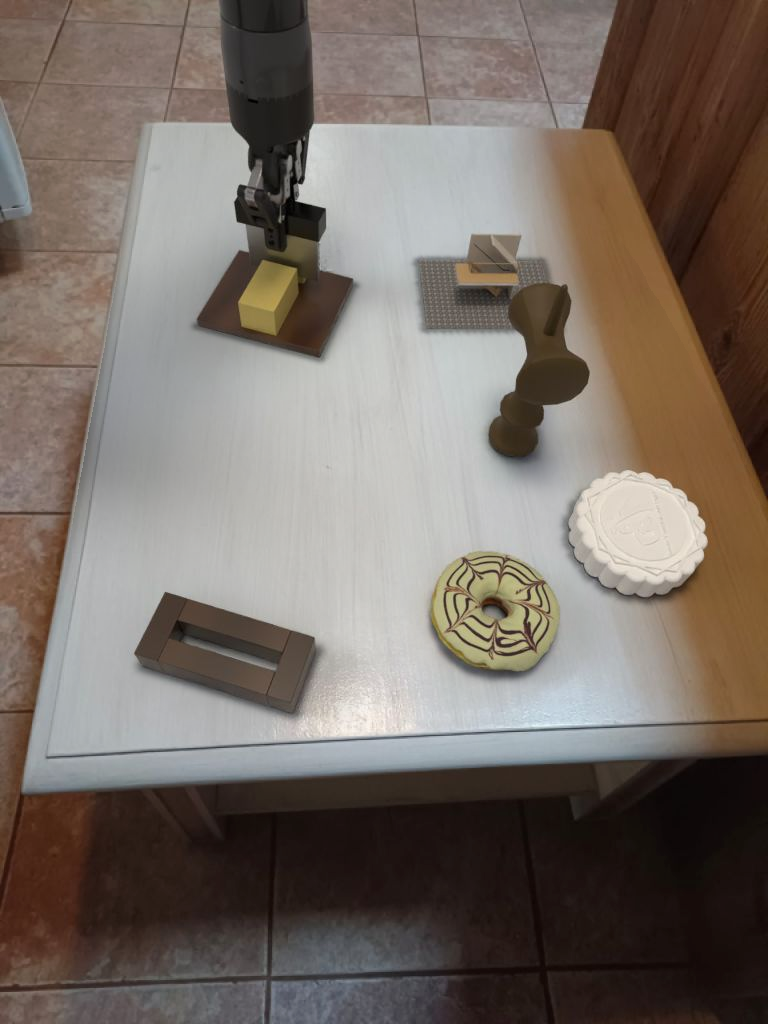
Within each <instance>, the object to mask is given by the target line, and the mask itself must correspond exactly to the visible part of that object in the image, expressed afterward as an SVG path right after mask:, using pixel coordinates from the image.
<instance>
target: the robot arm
mask: <svg viewBox="0 0 768 1024" xmlns="http://www.w3.org/2000/svg"><path fill="white" fill-rule="evenodd" d="M218 7H219V17H220V19H219V20H220V49H221V56H222V65H223V73H224V81H225V90H226V95H227V96H226V97H227V104H228V111H229V119H230V120H229V121H230V123H231V126H232V128H233V129H234V131H235V132H236V133H237V134H238V135H239V136H240V137H241V138H242V139H243V140H244V141H245V142H246V144H247V145H248V149H247V168H248V169H249V172H250V176H249V180H248V183H247V185H246V184H241V183H239V184H238V186H237V188H236V198H237V197H238V199H239V201H240V203H241V205H242V207H243V209H244V210H245V212H246V214H247V216H248V218H249V220H250V222H251V224H254V225H260V226H263V227H264V237H265V246H266V247H267V248H268V249H270V250H274V251H278V252H284V251H285V250H286V248H287V233H286V219H285V202H286V200H287V199H289V200H294V201H298V199H299V197H300V187H299V186H300V185H301V186H302V185H303V184H304V182H305V181H306V169H307V161H308V152H309V142H310V133H311V130H312V128H313V126H314V124H315V123H314V121H315V101H314V97H315V96H314V67H313V66H314V64H313V63H314V62H313V61H314V60H313V40H312V33H311V26H310V19H309V0H218ZM271 201H272V202H275V203H276V209H274V207H273V205H272V203H271Z"/></svg>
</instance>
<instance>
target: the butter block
mask: <svg viewBox="0 0 768 1024" xmlns="http://www.w3.org/2000/svg"><path fill="white" fill-rule="evenodd" d="M298 294H299V291H298V273H297V268H293V267H289V266H285V265H281V264H277V263H273V262H269V261H265V260H262V262H261V264H260V266H259V267H258V269H257V271H256V272H255V274H254V276H253V278H252V279H251V281H250V283H249V284H248V286H247V288H246V290H245V291H244V293H243V295H242V296H241V298H240V300H239V302H238V305H239V312H240V319H241V325H242V327H244V328H248V329H252V330H256V331H259V332H263V333H267V334H271V335H275V336H277V334H278V332H279V330H280V328H281V326H282V324H283V322H284V320H285V318H286V317H287V315H288V313H289V311H290V309H291V307H292V305H293V303H294V301H295V299H296V297H297V295H298Z"/></svg>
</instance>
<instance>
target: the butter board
mask: <svg viewBox="0 0 768 1024" xmlns="http://www.w3.org/2000/svg"><path fill="white" fill-rule="evenodd" d="M258 267H259V266H255V265H251V264H250V256H249V251H247V250H246V251H245V250H241V249H238V251H237V253H236V254H235V256H234V257H233V259H232V261H231V263H230V264H229V266H228V267H227V269H226V271H225V272H224V274H223V275H222V277H221V278H220V280H219V282H218V283H217V285H216V287H215V288H214V290H213V291H212V293H211V295H210V297H209V298H208V300H207V301H206V303H205V305H204V307H203V308H202V309H201V312H200V313H199V314H198V316H197V318H196V322H197V326H198V327H202V328H206V329H210V330H213V331H217V332H222V333H225V334H230V335H233V336H237V337H241V338H243V339H248V340H252V341H256V342H259V343H264V344H267V345H271V346H274V347H279V348H283V349H286V350H290V351H293V352H298V353H300V354H304V355H309V356H312V357H316V358H320V357H321V355H322V352H323V350H324V348H325V346H326V344H327V342H328V339H329V338H330V335H331V333H332V331H333V329H334V327H335V325H336V322H337V321H338V318H339V316H340V314H341V312H342V310H343V308H344V306H345V303H346V301H347V299H348V297H349V295H350V292H351V290H352V288H353V286H354V278H353V277H349V276H345V275H341V274H338V273H333V272H329V271H325V270H322V269H320V280H319V281H314V280H310V279H306V280H305V282H304V284H302V283H298V291H299V294H298V295H297V297H296V299H295V301H294V303H293V305H292V307H291V309H290V311H289V313H288V315H287V317H286V318H285V320H284V322H283V324H282V326H281V328H280V330H279V332H278V334H277V336H275V335H271V334H267V333H263V332H259V331H256V330H252V329H248V328H244V327H242V325H241V319H240V312H239V305H238V302H239V300H240V298H241V296H242V295H243V293H244V291H245V290H246V288H247V286H248V284H249V283H250V281H251V279H252V278H253V276H254V274H255V272H256V271H257V269H258Z"/></svg>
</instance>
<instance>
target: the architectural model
mask: <svg viewBox="0 0 768 1024" xmlns="http://www.w3.org/2000/svg"><path fill="white" fill-rule="evenodd" d="M521 239H522V233H470V240H469V244H468V249H467V256H466V260H459V259H458V260H457V259H455V260H454V259H453V260H452V259H449V260H446V259H445V260H444V259H438V260H437V259H434V260H433V259H419V260H418V267H419V274H420V275H419V276H420V283H421V292H422V300H423V308H424V316H425V317H424V318H425V325H426V329H470V330H471V329H472V330H473V329H476V330H477V329H478V330H479V329H481V330H482V329H487V330H489V329H490V330H491V329H495V330H496V329H498V330H499V329H505V330H507V329H512V330H513V329H514V328H513V326H512V325H511V323H510V321H509V319H508V307H509V304H510V302H511V300H512V298H513V296H514V295H515V294H517V293H518V292H519V291H520V290H521V289H522V288H525V287H527V286H530V285H532V284H539V283H548V282H547V279H546V275H545V271H544V267H543V262H542V260H516V259H517V254H518V251H519V247H520V243H521ZM514 330H515V329H514Z"/></svg>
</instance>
